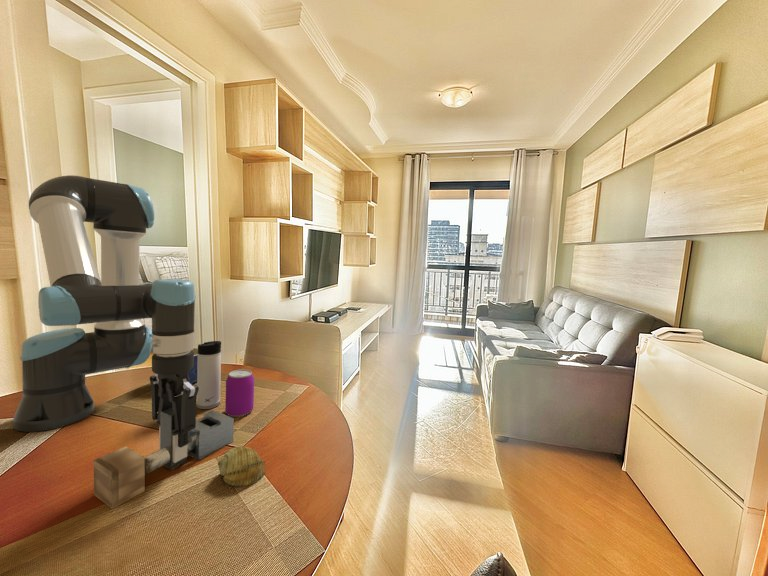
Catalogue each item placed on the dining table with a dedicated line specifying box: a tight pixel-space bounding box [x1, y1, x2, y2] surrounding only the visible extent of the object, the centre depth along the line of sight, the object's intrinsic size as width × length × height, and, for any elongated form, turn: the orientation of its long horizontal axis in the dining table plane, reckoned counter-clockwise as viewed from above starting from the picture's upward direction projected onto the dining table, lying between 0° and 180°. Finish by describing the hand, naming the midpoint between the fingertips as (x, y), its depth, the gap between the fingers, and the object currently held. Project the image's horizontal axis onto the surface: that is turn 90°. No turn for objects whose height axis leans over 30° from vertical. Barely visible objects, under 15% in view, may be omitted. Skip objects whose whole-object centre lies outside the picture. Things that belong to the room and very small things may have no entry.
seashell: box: [217, 445, 266, 488], centre depth 68 cm, size 10×7×8 cm
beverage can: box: [225, 368, 255, 418], centre depth 94 cm, size 8×8×12 cm
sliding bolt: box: [144, 407, 211, 475], centre depth 70 cm, size 16×4×12 cm, turn 154°
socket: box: [93, 446, 146, 510], centre depth 60 cm, size 5×7×7 cm
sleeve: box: [187, 410, 235, 461], centre depth 77 cm, size 9×6×7 cm
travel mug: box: [196, 340, 222, 410], centre depth 97 cm, size 6×7×20 cm
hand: (173, 455), depth 69 cm, fingers closed on sliding bolt, 4 cm apart
